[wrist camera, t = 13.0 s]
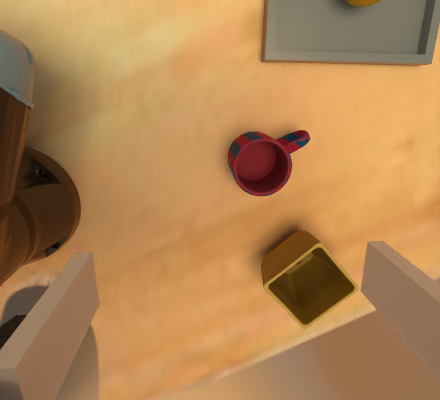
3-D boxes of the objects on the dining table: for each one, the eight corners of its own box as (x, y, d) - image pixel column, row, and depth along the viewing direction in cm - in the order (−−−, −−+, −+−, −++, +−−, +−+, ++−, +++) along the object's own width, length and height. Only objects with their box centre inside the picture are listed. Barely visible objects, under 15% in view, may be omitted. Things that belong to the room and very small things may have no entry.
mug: (219, 145, 42) (223, 153, 35) (290, 111, 41) (307, 114, 35) (240, 189, 44) (247, 205, 37) (308, 158, 43) (327, 169, 37)
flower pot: (332, 255, 48) (361, 290, 39) (286, 290, 49) (304, 331, 41) (297, 214, 45) (320, 241, 37) (250, 252, 47) (261, 286, 38)
